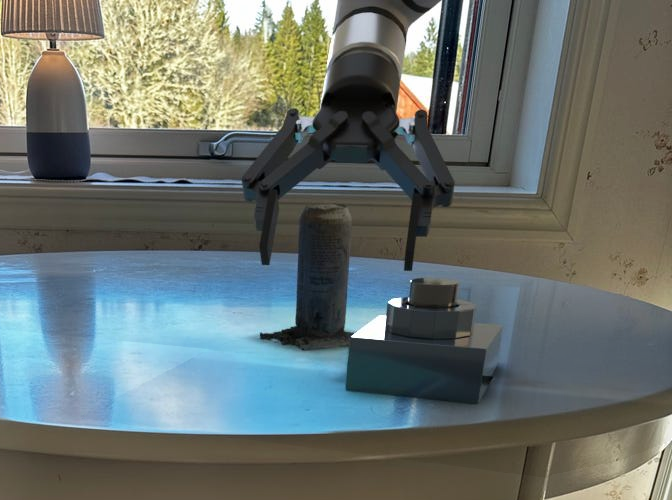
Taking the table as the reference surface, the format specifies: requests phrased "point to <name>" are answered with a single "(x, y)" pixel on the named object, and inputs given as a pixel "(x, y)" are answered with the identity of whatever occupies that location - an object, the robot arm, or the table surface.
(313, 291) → the beverage can
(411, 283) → the cylinder
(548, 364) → the table surface
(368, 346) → the grey stepped square block
